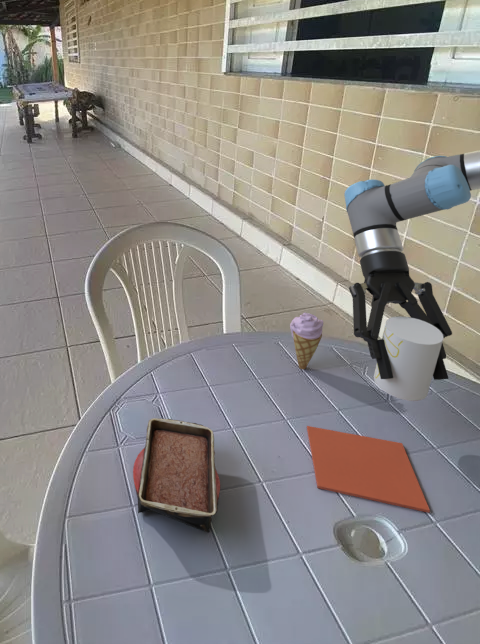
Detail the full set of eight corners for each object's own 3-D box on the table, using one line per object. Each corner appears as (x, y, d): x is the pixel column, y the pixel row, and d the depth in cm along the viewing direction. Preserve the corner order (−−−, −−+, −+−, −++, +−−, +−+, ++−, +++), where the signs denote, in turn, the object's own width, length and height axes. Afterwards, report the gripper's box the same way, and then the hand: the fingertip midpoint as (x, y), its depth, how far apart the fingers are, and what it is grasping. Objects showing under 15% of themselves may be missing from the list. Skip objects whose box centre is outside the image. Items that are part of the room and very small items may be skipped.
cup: (373, 364, 83) (385, 312, 78) (425, 377, 79) (440, 323, 74) (373, 391, 76) (386, 336, 72) (429, 407, 72) (446, 349, 68)
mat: (401, 445, 78) (402, 443, 78) (429, 513, 67) (430, 510, 67) (306, 427, 83) (307, 425, 83) (317, 488, 72) (317, 485, 71)
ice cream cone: (286, 373, 97) (293, 318, 92) (284, 356, 103) (290, 303, 98) (318, 378, 95) (327, 322, 90) (314, 360, 101) (322, 306, 95)
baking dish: (222, 469, 78) (221, 421, 76) (218, 561, 62) (216, 503, 60) (146, 456, 83) (142, 411, 81) (123, 539, 66) (118, 484, 64)
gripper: (426, 260, 85) (464, 381, 76) (317, 262, 87) (341, 379, 78) (451, 247, 78) (496, 378, 69) (332, 250, 80) (360, 376, 71)
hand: (414, 378), depth 73 cm, fingers closed on cup, 8 cm apart
